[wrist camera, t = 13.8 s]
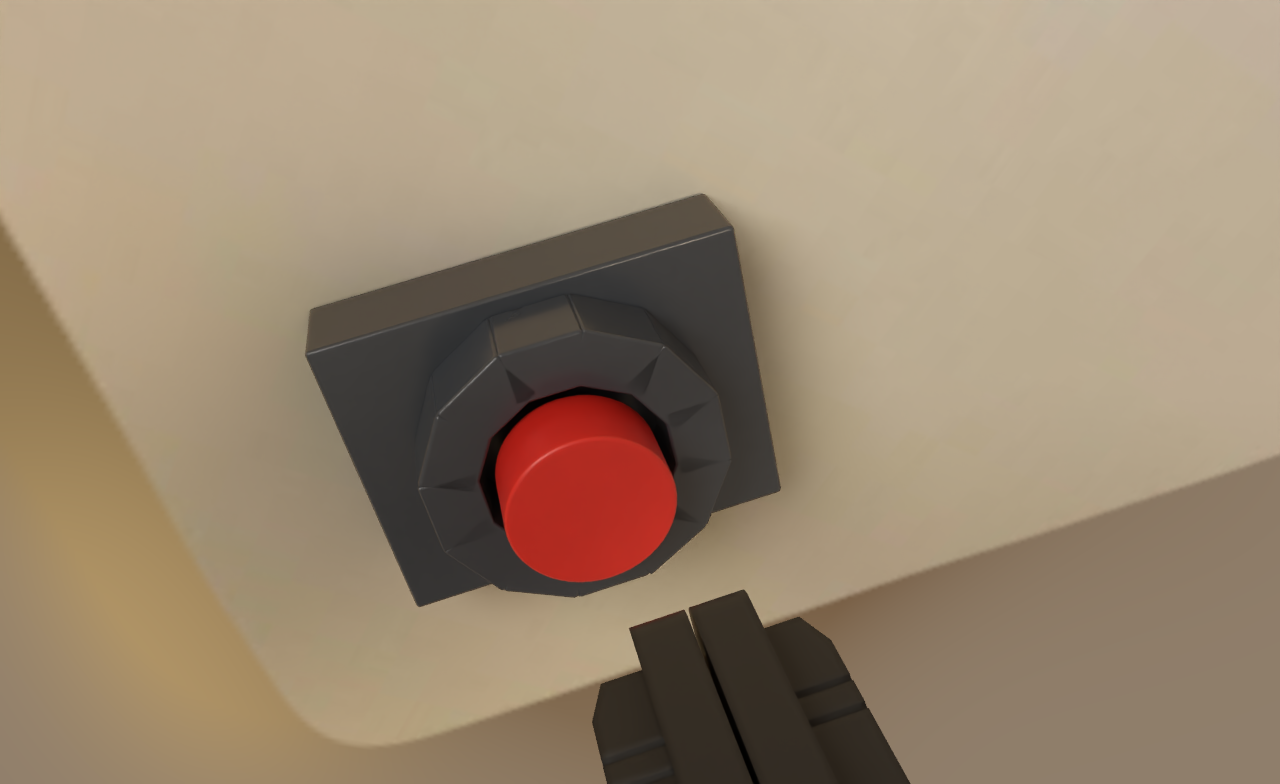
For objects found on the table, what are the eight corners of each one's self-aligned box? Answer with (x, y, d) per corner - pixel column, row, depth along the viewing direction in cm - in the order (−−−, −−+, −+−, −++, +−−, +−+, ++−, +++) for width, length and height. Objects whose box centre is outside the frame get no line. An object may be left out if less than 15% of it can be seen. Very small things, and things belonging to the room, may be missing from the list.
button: (520, 552, 22) (531, 605, 21) (473, 423, 21) (481, 470, 19) (671, 503, 23) (692, 552, 21) (637, 372, 21) (658, 415, 19)
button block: (413, 552, 26) (421, 663, 23) (308, 308, 23) (298, 398, 19) (753, 444, 27) (809, 536, 24) (704, 191, 23) (762, 258, 20)
